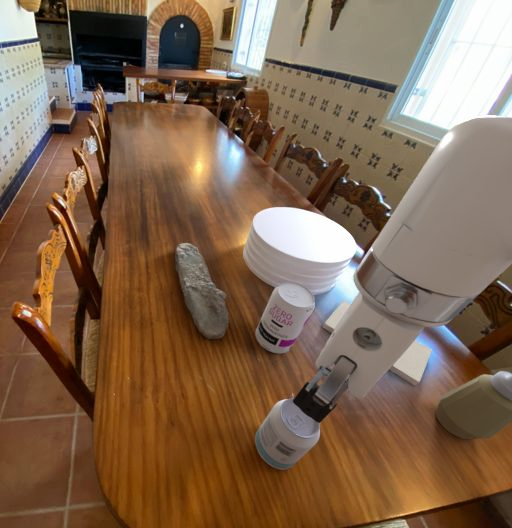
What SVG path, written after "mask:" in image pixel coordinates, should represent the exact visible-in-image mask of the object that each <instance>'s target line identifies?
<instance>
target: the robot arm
mask: <svg viewBox="0 0 512 528" xmlns="http://www.w3.org/2000/svg"><path fill="white" fill-rule="evenodd" d="M511 265H512V117H511V116H500V115H499V116H498V115H483V116H482V115H481V116H474V117H469V118H466V119H464V120H462V121H461V122H458V123H457V124H455V125H454V126H452V127H451V128H450V129H449V130H448V131H447V132H446V133H445V134H444V135H443V137H442V138H441V140H439V142H438V144H437V145H436V146H435V147H434V149H433V151H432V152H431V154H430V156H429V157H428V158H427V160H426V162H425V163H424V164H423V166H422V168H421V169H420V171H419V172H418V174H417V175H416V177H415V179H414V180H413V182H411V185H410V186H409V188H408V189H407V190H406V192H405V194H404V195H403V197H402V199H401V200H400V202H399V203H398V205H397V206H396V207H395V209H394V210H393V212H392V214H391V215H390V217H389V218H388V220H387V221H386V223H385V225H384V226H383V228H382V229H381V230H380V232H379V234H378V235H377V236H376V238H375V240H374V241H373V243H372V244H371V246H370V248H369V249H368V251H367V252H366V254H365V255H364V257H363V258H362V260H361V262H360V263H359V265H357V268H356V269H355V271H354V272H353V275H352V277H353V283H354V286H355V287H356V289H357V291H358V293H356V296H354V298H353V300H352V302H351V303H350V304H351V305H350V306H349V308H348V309H347V311H346V312H345V313H344V315H343V316H342V318H341V320H340V321H339V323H338V324H337V326H336V328H335V329H334V331H333V333H331V334H330V336H329V337H328V339H327V341H326V343H325V345H324V346H323V348H322V349H321V352H320V353H319V356H318V357H317V359H316V361H315V362H314V363H315V365H314V366H315V368H316V370H317V372H316V374H315V375H314V376H313V377H312V378H311V380H310V382H309V381H306V382H305V384H304V385H303V386H302V387H301V389H300V390H299V391H298V393H297V394H296V395H295V397H294V400H293V403H294V404H295V405H296V406H297V407H299V408H300V409H301V411H302V412H303V413H305V414H306V415H307V416H308V417H311V418H312V419H313V420H315V421H316V422H318V423H320V424H321V423H322V422H323V420H324V419H326V417H327V416H328V415H329V414H331V412H332V411H333V410H334V409H335V408H336V407H337V405H338V402H339V400H340V399H341V398H342V397H343V395H344V393H346V391H347V393H348V394H350V395H351V396H353V397H354V398H356V399H362V398H364V397H365V396H366V395H367V394H368V393H369V392H370V391H371V390H372V389H373V388H374V386H375V385H376V384H377V383H378V382H379V381H380V380H381V379H382V378H383V377H384V376H385V375H386V374H387V373H388V371H390V370H389V369H390V368H391V367H392V366H393V365H394V364H395V363H396V361H397V360H398V359H399V358H400V357H401V356H402V355H403V354H404V352H405V351H406V350H407V349H408V348H409V347H410V345H411V344H412V343H413V342H414V340H417V338H418V337H419V335H420V334H421V333H422V332H423V330H424V329H425V327H427V328H438V327H443V326H445V325H448V323H450V322H451V321H452V320H453V319H454V318H456V316H457V315H459V314H460V313H461V312H462V311H463V310H464V309H465V308H466V307H467V306H468V305H469V304H471V303H472V302H473V300H475V299H476V298H477V297H478V296H479V295H480V294H481V293H483V291H484V290H485V289H487V287H489V286H490V284H492V283H493V282H494V281H495V280H496V279H497V278H498V277H499V276H500V275H502V274H503V273H505V271H506V270H507V269H508V268H509V267H510V266H511ZM331 366H333V367H332V369H330V368H329V367H331ZM323 376H326V378H325V379H324V380H323V381H322V382H321V384H320V385H318V383H319V381H320V380H321V379H322V377H323Z"/></svg>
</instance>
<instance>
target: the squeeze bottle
mask: <svg viewBox="0 0 512 528" xmlns="http://www.w3.org/2000/svg"><path fill="white" fill-rule="evenodd" d="M435 416H436V420H437V421H438V422H439V423H440V425H441V426H442V427H443V428H444V429H445V430H446V431H447V432H449V433H450V434H452V435H453V436H455V437H457V438H459V439H463V440H479V439H480V440H482V439H490V438H492V437H494V436H496V435H497V434H498V433H500V432H501V431H503V430H504V429H506V428H507V427H508V426H509V425H511V423H512V372H509V371H503V370H501V371H498V372H496V373H495V374H494V375H492V374H485V373H483V374H481V375H479V376H477V377H475V378H473V379H471V380H469V381H467V382H465V383H463V384H461V385H459V386H458V387H455V388H454V389H451V390H449V391H448V392H445V393H444V394H442V395H441V397H440V400H439V402H438V404H437V407H436V409H435Z"/></svg>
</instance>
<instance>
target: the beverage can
mask: <svg viewBox="0 0 512 528" xmlns="http://www.w3.org/2000/svg"><path fill="white" fill-rule="evenodd" d="M294 398H295V397H294ZM294 398H287V399H285V398H284V399H282V400H279V401H277V402H276V403H275V404H274V405H273V407H271V410H270V411H269V413H268V414H267V416H266V417H265V419H264V420H263V421H262V423H261V424H260V426H259V427H258V429H257V431H256V433H255V437H254V443H255V447H256V450H257V452H258V454H259V456H260V457H261V459H262V460H263V461H264V462H265V463H266V464H267V465H269V467H270V466H271V467H272V468H274V469H277V470H288V469H290V468H292V467H293V466H294V465H295V464H296V463H297V462H298V461H299V460H300V459H302V458H303V457H304V456H305V455H306V454H307V453H308V452H309V451H310V450H311V449H312V448H313V447H314V446H315V445H317V443H318V441H319V439H320V437H321V430H320V429H321V422H320V423H318V422H316V421H315V420H313V419H312V418H311V417H308V416H307V415H306V414H305V413H303V412H302V411H301V409H300V408H299V407H297V406H296V405H295V404H294V403H293V400H294Z"/></svg>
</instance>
